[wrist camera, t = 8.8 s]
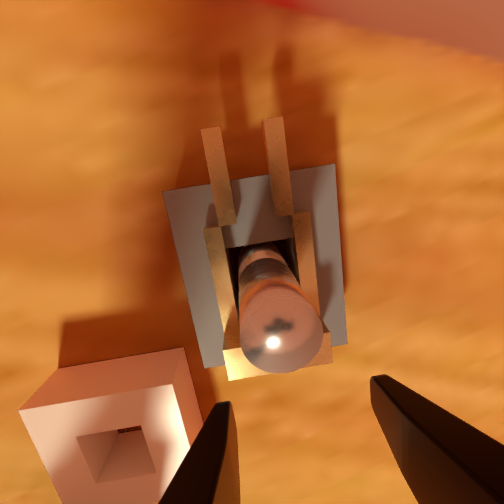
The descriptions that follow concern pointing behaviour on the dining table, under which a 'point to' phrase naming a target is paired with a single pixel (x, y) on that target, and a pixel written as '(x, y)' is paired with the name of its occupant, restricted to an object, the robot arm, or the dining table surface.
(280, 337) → the steel pin
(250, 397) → the dining table surface
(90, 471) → the square hole block
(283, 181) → the brass guide bars
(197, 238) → the socket block
